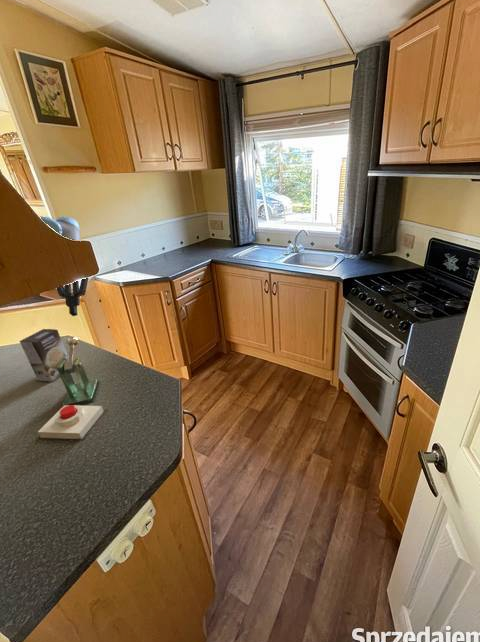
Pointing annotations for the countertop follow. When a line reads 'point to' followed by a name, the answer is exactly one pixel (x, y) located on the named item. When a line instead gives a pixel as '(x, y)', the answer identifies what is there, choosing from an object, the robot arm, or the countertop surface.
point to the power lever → (71, 354)
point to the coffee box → (45, 353)
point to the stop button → (68, 412)
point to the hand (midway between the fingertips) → (73, 314)
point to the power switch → (77, 391)
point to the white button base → (71, 423)
